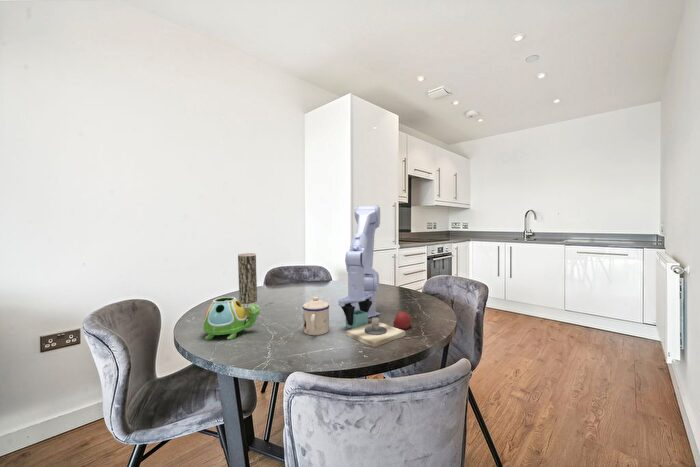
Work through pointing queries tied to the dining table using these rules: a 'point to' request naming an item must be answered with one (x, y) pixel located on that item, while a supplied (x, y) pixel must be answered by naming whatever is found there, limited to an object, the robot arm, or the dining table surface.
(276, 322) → the dining table surface
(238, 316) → the turtle holder
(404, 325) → the fruit
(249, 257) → the bark log
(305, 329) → the teacup with lid
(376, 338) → the post base
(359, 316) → the collar
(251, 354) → the dining table surface
